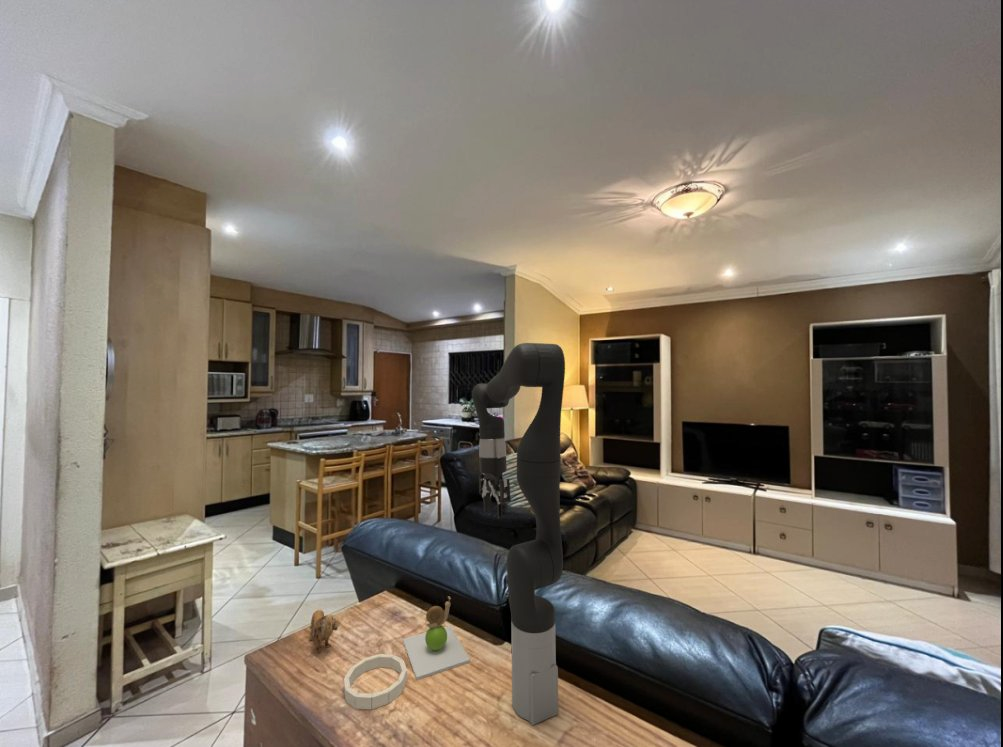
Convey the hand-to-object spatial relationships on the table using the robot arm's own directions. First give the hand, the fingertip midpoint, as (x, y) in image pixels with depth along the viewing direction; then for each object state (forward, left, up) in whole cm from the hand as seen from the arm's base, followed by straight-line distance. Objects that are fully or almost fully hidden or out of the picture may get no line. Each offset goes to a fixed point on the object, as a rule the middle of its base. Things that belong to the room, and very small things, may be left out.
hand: (494, 514), depth 109 cm
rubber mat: (-2, +17, -31) cm, 36 cm away
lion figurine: (+15, +43, -31) cm, 55 cm away
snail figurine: (-2, +17, -31) cm, 35 cm away
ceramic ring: (-7, +32, -31) cm, 45 cm away
